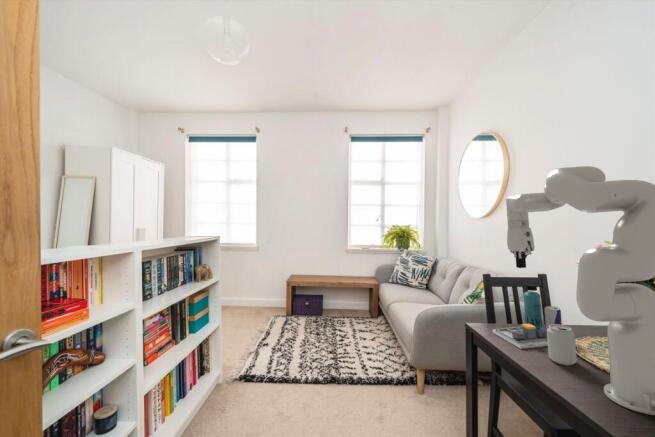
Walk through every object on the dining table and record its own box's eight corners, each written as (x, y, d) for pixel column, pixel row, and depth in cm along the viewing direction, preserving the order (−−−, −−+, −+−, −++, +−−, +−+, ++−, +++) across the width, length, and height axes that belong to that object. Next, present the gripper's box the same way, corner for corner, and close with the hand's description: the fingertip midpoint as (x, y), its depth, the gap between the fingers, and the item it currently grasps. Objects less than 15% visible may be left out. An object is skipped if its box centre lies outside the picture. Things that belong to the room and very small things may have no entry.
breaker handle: (536, 339, 112) (535, 326, 112) (528, 340, 111) (527, 327, 112) (530, 336, 115) (529, 323, 115) (522, 337, 115) (521, 324, 115)
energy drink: (566, 339, 114) (564, 309, 114) (552, 339, 114) (550, 310, 114) (555, 334, 120) (553, 305, 120) (543, 334, 120) (541, 306, 120)
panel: (555, 345, 110) (554, 333, 110) (520, 348, 109) (519, 337, 109) (523, 329, 126) (522, 319, 126) (492, 332, 125) (492, 322, 125)
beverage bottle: (521, 329, 127) (518, 284, 127) (530, 325, 129) (527, 282, 130) (537, 333, 121) (534, 287, 121) (546, 330, 124) (543, 284, 124)
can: (564, 368, 94) (562, 332, 94) (543, 357, 101) (541, 324, 101) (582, 364, 95) (580, 329, 95) (560, 354, 103) (558, 321, 103)
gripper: (541, 224, 113) (544, 269, 113) (513, 224, 128) (516, 264, 128) (523, 225, 112) (526, 271, 112) (497, 225, 127) (500, 265, 127)
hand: (521, 267), depth 120 cm, fingers closed
